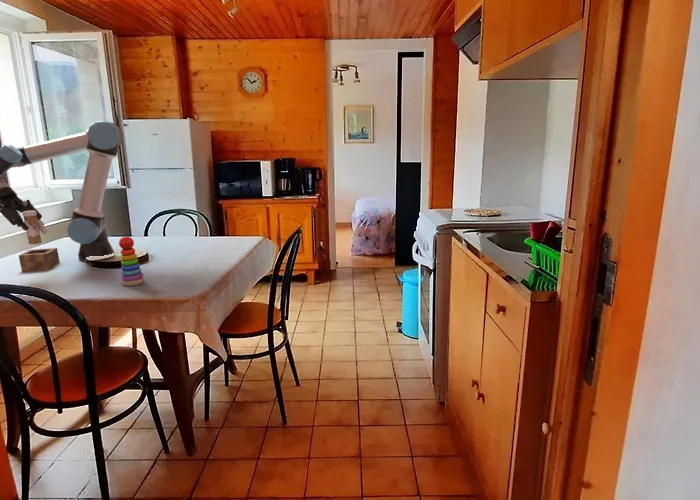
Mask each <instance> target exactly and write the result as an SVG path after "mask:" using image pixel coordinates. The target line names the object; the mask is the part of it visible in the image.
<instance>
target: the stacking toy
mask: <svg viewBox="0 0 700 500" xmlns="http://www.w3.org/2000/svg"><path fill="white" fill-rule="evenodd" d="M118 245H119V247H120V249H121V250H120V254H121V256H120V258H121V261H120V264H121V266H120V267H121V268H120V269H121V271H120V272H121V273H120V274H121V284H122V285H123V286H125V287H126V286H127V287H133V286H137V285H141V284H142V283H144V282H145V278H144V277H143V276H144V273H143V272H142V269H141V266H140V263H139V259H138V254H137V253H136V250H135V248H133V247H134V245H135V241H134V239H133V238H131V237H130V236H122V237H121V238H120V239H119V241H118Z"/></svg>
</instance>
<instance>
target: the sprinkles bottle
mask: <svg viewBox="0 0 700 500" xmlns="http://www.w3.org/2000/svg"><path fill="white" fill-rule="evenodd" d="M21 213H22V217H23V222H24V221H27V223H28V224H29V225H30V226H31V227H32V228H33V229H34V230H35V231H36V232H37V234H36V235H35V237H32V236H31V235H30V234H29V233H28V232H27V231H26V232H25V233H26V236H27V240H28V244H29V245H38V244H41V243H43V241H42V237H41V231H40V230H39V225H38V221H37V216H36V215H37V213H36V211H34V210H31V211H23V212H21Z"/></svg>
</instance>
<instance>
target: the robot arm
mask: <svg viewBox="0 0 700 500" xmlns="http://www.w3.org/2000/svg"><path fill="white" fill-rule="evenodd" d="M123 140H124V132H123V130H122V129H121V128H120V127H119V126H118V125H117V124H115V122H112V121H111V122H110V121H108V120H97V121H94V122H93V123H91V124H90V126H89V127H88V129H86V131H85V132H81V133H77V134H73V135H69V136H64V137H60V138H56V139H51V140H47V141H43V142H39V143H34V144H29V145H27V146H21V147H17V148H16V147H15V146H14V145H11V144H10V143H6V144H4V145H3V146H1V147H0V213H1V215H2V216H3V217H4V218H5V220H7V221H8V222H9V223H10V224H11V225H12V226H16V227H18V228H21V229H22V230H23V231H27V232H28V233H29V234H30V235H31V236H32V237H35V235H36V234H37V232H36V231H35V230H34V229H33V228H32V227H31V226H30V225H29V224H28V223H27V221H24V218H23V217H22V216H21V215H20V213H22V212H23V211H31V210H34V211H36V213H37V215H36V216H37V221H38V225H39V230H40V233H42V234H43V235H45V236H46V235H47V233H48V232H49V229H48V228H47V227H46V226H45V223H44V222H43V221H42V220H41V219H42V217H43V215H42V214H41V213H40V212H39V211H38V210H37V209H36V207H35V206H34V205H33V204H32V203H31V200H30V199H26V200H23V199H21V198H19V196H18V195H17V192H16V191H15V190H13V189H12V187H11V186H10V185H9V184H8V183H7V182H6V181H5V180H4V179H3V178H2V176H4V175H5V173H6V172H8V171H10V169H13V168H21V167H25V166H27V165H31V164H36V163H38V162H44V161H48V160H52V159H56V158H57V159H58V158H61V157H66V156H68V155H72V154H77V153H81V152H85V151H87V152H88V155H89V156H88V159H87V163H86V168H85V174H84V178H83V181H82V182H83V184H82V188H81V192H80V197H79V202H78V207H75V208H74V209H73V211H72V214H71V219H70V222H69V223H68V225H67V227H66V231H67V236H68V237H69V238H70V239H71V241H73V242H75V243H77V244H79V247H78V248H79V250H78V254H77V257H78V261H81V262H86V261H85V260H86V257H89V256H104V255H109V254H112V253H114V254H115V251H114V249H113V246H112V245H111V243H110V241H109V236H108V231H107V224H106V218H105V217H106V216H105V213H104V211H103V210H102V207H103V202H104V198H105V197H104V196H105V192H106V187H107V183H108V178H109V174H110V169H111V165H112V160H113V159H114V158H116V157H117V155H118V152H119V146H121V145H122V143H123ZM27 232H26V233H27Z"/></svg>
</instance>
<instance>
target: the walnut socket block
mask: <svg viewBox="0 0 700 500" xmlns="http://www.w3.org/2000/svg"><path fill="white" fill-rule="evenodd" d="M18 259H19V264H20V269H21V272H28V271H29V272H30V271H41V270H51V269H53V267H56V266H57V265H58V264H59V263H61V262H60V261H61V260H60V257H59V252H58V248H57V247H51V248H50V247H49V248H36V249H35V248H34V249H33V248H32V249H28V250H26V251H25V252H23V253H20V254H19V255H18Z"/></svg>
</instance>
